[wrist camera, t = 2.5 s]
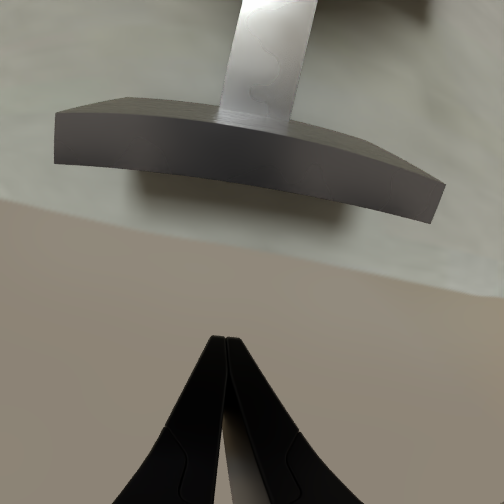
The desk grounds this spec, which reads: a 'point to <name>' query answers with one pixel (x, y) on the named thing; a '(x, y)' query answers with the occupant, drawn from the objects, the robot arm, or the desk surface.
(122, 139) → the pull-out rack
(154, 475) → the robot arm
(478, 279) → the desk surface
